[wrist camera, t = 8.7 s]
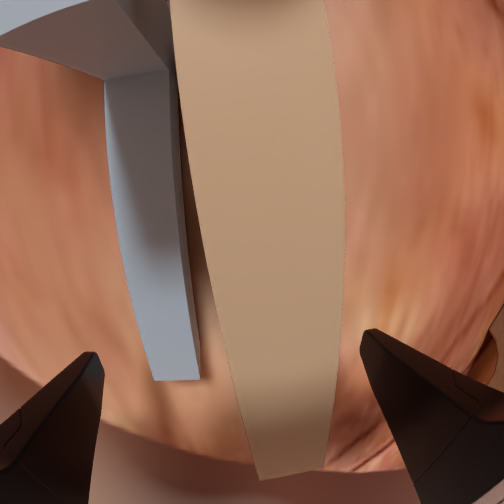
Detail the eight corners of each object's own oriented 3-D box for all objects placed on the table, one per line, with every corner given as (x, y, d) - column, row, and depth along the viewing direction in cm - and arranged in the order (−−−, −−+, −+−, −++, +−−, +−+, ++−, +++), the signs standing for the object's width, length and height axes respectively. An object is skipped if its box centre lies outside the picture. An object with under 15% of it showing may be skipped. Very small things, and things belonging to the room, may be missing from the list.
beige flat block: (191, 55, 9) (167, -37, 3) (253, 48, 9) (314, -43, 3) (238, 354, 14) (259, 480, 8) (283, 346, 14) (323, 467, 8)
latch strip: (177, 33, 9) (129, -99, 1) (200, 343, 14) (204, 499, 7) (125, 41, 8) (12, -55, 1) (159, 345, 14) (142, 498, 7)
